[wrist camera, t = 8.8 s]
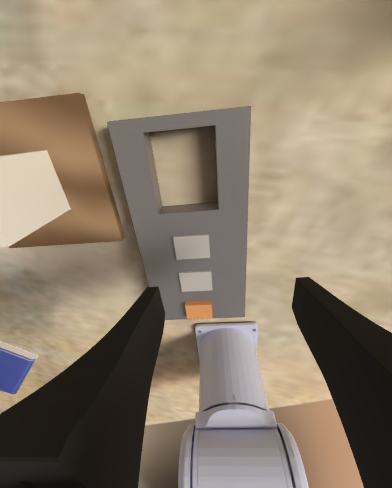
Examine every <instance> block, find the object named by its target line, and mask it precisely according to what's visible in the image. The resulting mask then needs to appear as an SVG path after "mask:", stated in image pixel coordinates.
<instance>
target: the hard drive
mask: <svg viewBox="0 0 392 488" xmlns="http://www.w3.org/2000/svg"><path fill="white" fill-rule="evenodd" d="M37 357H38V355H36V354H33V353H31V352H28V351H25V350H23V349H20V348H18V347H15V346H12V345H10V344H7V343H5V342H2V341H0V390H1V391H4V392H7V393H10V394H16V393H17V391H18V390H19V388H20V387H21V385H22V383H23V382H24V380H25V378H26V376H27V375H28V373H29V371H30V369H31V368H32V366H33V364H34V362H35V361H36V359H37Z"/></svg>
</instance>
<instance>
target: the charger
mask: <svg viewBox="0 0 392 488" xmlns="http://www.w3.org/2000/svg"><path fill="white" fill-rule="evenodd" d="M70 209H71V208H70V206H69V203H68V201H67V198H66V196H65V193H64V191H63V189H62V186H61V184H60V181H59V179H58V176H57V174H56V171H55V169H54V167H53V164H52V162H51V159H50V157H49V154H48V152H47V150H44V151H35V152H27V153H18V154H9V155H1V156H0V247H9V246H11V245H12V244H14V243H16V242H17V241H19V240H21V239H22V238H24V237H26V236H27V235H29V234H31V233H32V232H34V231H36V230H37V229H39V228H41V227H42V226H44V225H45V224H47V223H49V222H50V221H52V220H54V219H55V218H57V217H59V216H60V215H62V214H64V213H65V212H67V211H69V210H70Z"/></svg>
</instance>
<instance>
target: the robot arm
mask: <svg viewBox="0 0 392 488" xmlns="http://www.w3.org/2000/svg"><path fill="white" fill-rule="evenodd" d="M292 309H293V312H294V315H295V318H296V321H297V323H298V326H299V328H300V330H301V332H302V334H303V336H304V338H305V340H306V342H307V344H308V346H309V348H310V350H311V352H312V354H313V356H314V358H315V360H316V362H317V364H318V366H319V368H320V370H321V372H322V374H323V376H324V378H325V381H326V383H327V386H328V388H329V391H330V393H331V396H332V398H333V400H334V403H335V406H336V409H337V411H338V414H339V416H340V419H341V422H342V424H343V427H344V430H345V433H346V436H347V438H348V441H349V444H350V447H351V450H352V452H353V455H354V458H355V461H356V464H357V467H358V470H359V473H360V476H361V479H362V482H363V486H364V488H392V333H391V332H389V331H387V330H385V329H384V328H382V327H380V326H379V325H377V324H375V323H374V322H372V321H371V320H369V319H367V318H366V317H364V316H363V315H361V314H360V313H358V312H357V311H355V310H354V309H352V308H351V307H349V306H348V305H346V304H345V303H344V302H342V301H341V300H339V299H338V298H337V297H335V296H334V295H332V294H331V293H330V292H328V291H327V290H326V289H324V288H323V287H322V286H320V285H319V284H317V283H316V282H315V281H313V280H312V279H311V278H309V277H302V278H296V282H295V289H294V296H293V302H292ZM164 321H165V310H164V306H163V302H162V298H161V294H160V290H159V286H158V287H147V288H146V290H145V291H144V292H143V293H142V294H141V296H140V297H139V298H138V299H137V301H136V302H135V303H134V304H133V305H132V307H131V308H130V309H129V310H128V311H127V312H126V314H125V315H124V316H123V317H122V318H121V319H120V320H119V321H118V323H117V324H116V325H115V326H114V327H113V328H112V329H111V330H110V331H109V332H108V333H107V334H106V335H105V336H104V337H103V338H102V339H101V340H100V341H99V342H98V343H97V344H96V345H94V346H93V347H92V348H91V349H90V350H89V351H88V352H87V353H85V354H84V355H83V356H82V357H80V358H79V359H78V360H77V361H76V362H74V363H73V364H72V365H71V366H69V367H68V368H67V369H66V370H64V371H63V372H62V373H60V374H59V375H58V376H56V377H55V378H54V379H52V380H51V381H49V382H48V383H47V384H45V385H44V386H42V387H41V388H39V389H38V390H37V391H35V392H34V393H32V394H31V395H29V396H28V397H26V398H24V399H23V400H21V401H20V402H18V403H17V404H15V405H14V406H12V407H11V408H9V409H7V410H6V411H4V412H3V413H1V415H0V488H138V481H139V471H140V461H141V452H142V444H143V436H144V428H145V420H146V413H147V406H148V399H149V393H150V386H151V381H152V376H153V371H154V367H155V363H156V359H157V355H158V351H159V347H160V343H161V339H162V335H163V329H164ZM199 330H200V331H199ZM195 332H196V340H197V347H198V354H199V361H200V387H199V412H196V422H195V425H189V426H188V428H187V430H186V431H185V433H184V434H183V438H182V442H181V449H180V459H179V477H178V479H179V480H178V488H309V487H308V482H307V478H306V474H305V470H304V466H303V463H302V460H301V456H300V453H299V450H298V447H297V445H296V442H295V440H294V438H293V436H292V434H291V433H290V432H289V431H288V430H287V429H286V427H285V426H284V425H283V424H281V423H279V424H276V420H275V416H274V412H273V411H269V407H268V403H267V398H266V394H265V389H264V385H263V381H262V376H261V372H260V368H259V363H258V359H257V355H256V349H257V336H258V324H257V323H255V322H250V323H220V324H197V325H196V326H195Z"/></svg>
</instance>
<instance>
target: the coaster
mask: <svg viewBox="0 0 392 488" xmlns="http://www.w3.org/2000/svg"><path fill="white" fill-rule="evenodd" d="M44 150H47V152H48V154H49V157H50V159H51V162H52V164H53V167H54V169H55V171H56V174H57V176H58V179H59V181H60V184H61V186H62V189H63V191H64V193H65V196H66V198H67V201H68V203H69V206H70V208H71V209H70V210H69V211H67V212H65V213H64V214H62V215H60V216H59V217H57V218H55V219H54V220H52V221H50V222H49V223H47V224H45V225H44V226H42V227H41V228H39V229H37V230H36V231H34V232H32V233H31V234H29V235H27V236H26V237H24V238H22V239H21V240H19V241H17V242H16V243H14V244H12V245H11V246H9V248H18V247H33V246H48V245H64V244H79V243H94V242H109V241H122V240H123V239H124V237H125V236H124V233H123V229H122V226H121V222H120V219H119V215H118V212H117V208H116V205H115V201H114V198H113V194H112V191H111V187H110V184H109V180H108V177H107V173H106V170H105V166H104V163H103V159H102V156H101V152H100V149H99V145H98V142H97V138H96V135H95V131H94V128H93V124H92V121H91V117H90V114H89V110H88V107H87V103H86V100H85V96H84V94H80V93H74V94H66V95H58V96H49V97H41V98H33V99H25V100H16V101H8V102H0V156H1V155H9V154H18V153H27V152H35V151H44Z"/></svg>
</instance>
